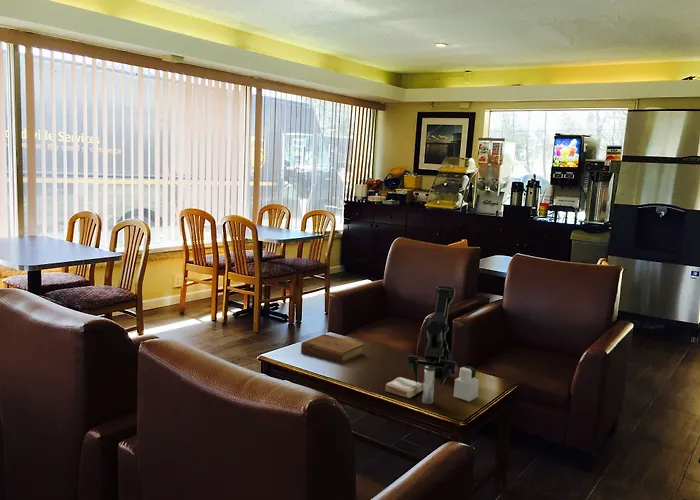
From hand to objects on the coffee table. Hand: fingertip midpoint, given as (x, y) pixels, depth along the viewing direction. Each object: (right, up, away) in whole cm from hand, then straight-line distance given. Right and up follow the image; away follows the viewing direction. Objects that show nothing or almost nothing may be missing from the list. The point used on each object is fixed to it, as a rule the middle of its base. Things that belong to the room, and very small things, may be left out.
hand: (428, 384), depth 217 cm
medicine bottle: (+16, -7, +9) cm, 20 cm away
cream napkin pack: (-8, -5, +12) cm, 16 cm away
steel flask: (0, -7, +2) cm, 7 cm away
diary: (-38, +1, +54) cm, 66 cm away
